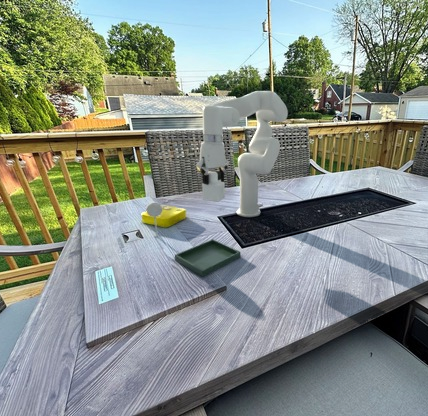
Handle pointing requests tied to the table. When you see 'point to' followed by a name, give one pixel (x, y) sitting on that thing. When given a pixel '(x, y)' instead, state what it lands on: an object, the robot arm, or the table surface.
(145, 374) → the table surface
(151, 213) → the lollipop
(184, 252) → the tray
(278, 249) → the table surface
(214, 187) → the medicine bottle
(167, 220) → the yellow flat block
